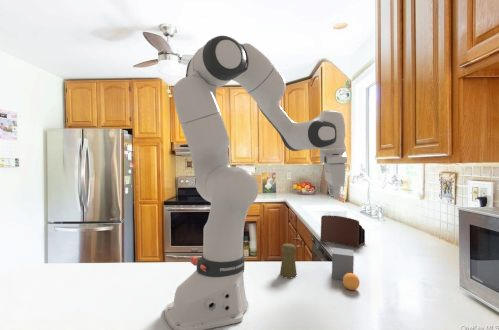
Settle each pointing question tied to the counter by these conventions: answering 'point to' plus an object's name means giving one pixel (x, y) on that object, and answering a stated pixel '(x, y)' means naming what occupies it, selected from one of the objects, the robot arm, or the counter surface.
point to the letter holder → (342, 231)
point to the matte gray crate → (342, 262)
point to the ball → (351, 281)
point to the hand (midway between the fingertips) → (334, 196)
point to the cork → (288, 261)
